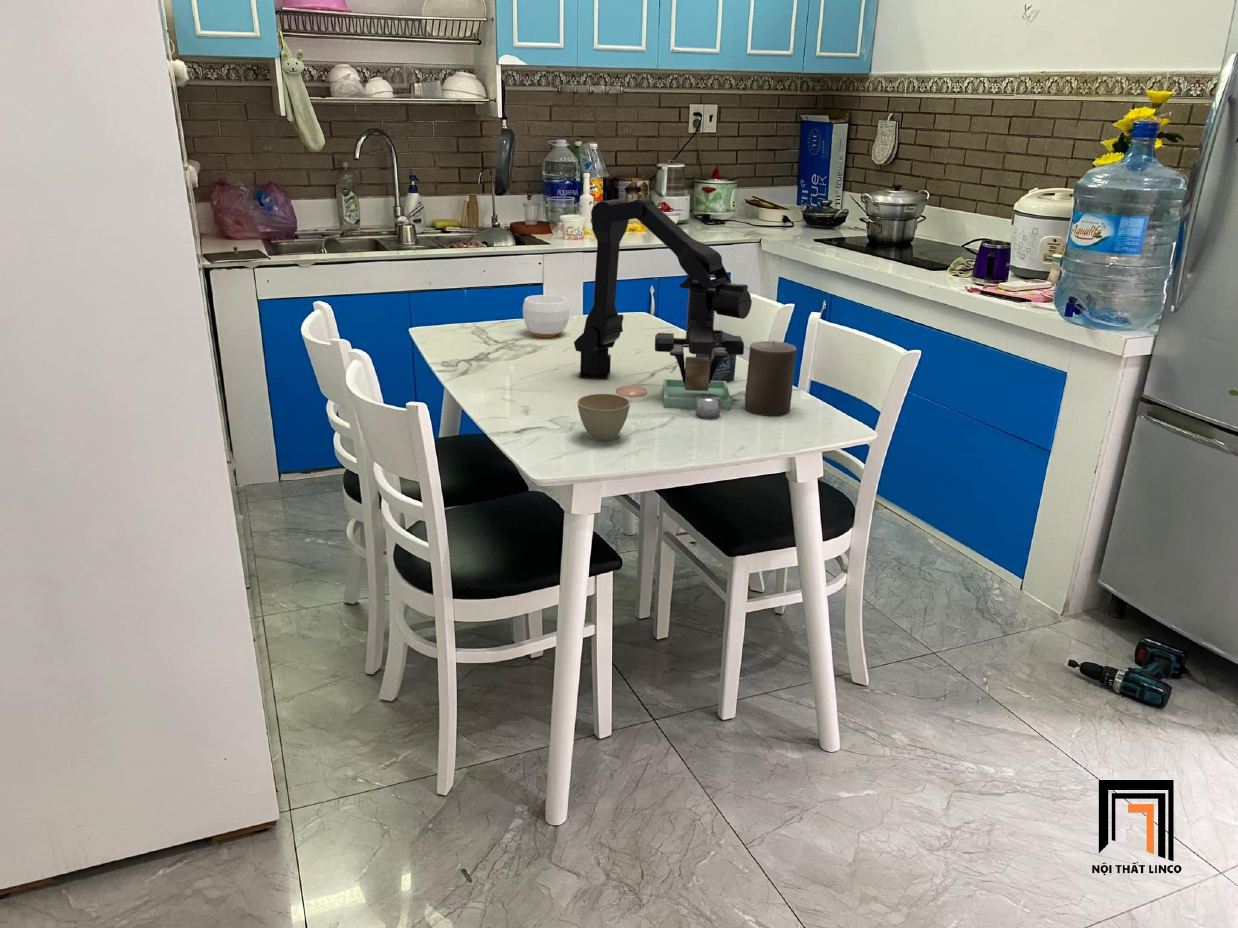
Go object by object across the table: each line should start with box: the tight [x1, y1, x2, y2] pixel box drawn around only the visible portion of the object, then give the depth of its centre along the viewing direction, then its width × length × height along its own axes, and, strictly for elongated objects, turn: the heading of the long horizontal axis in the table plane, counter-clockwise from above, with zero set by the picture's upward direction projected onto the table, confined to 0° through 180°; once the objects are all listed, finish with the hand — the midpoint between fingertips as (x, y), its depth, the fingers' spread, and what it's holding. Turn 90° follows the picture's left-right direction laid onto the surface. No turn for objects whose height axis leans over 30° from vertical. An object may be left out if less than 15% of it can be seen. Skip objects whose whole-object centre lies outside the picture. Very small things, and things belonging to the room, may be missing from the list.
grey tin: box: [695, 394, 721, 421], centre depth 193 cm, size 5×5×4 cm
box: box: [695, 331, 737, 382], centre depth 216 cm, size 8×6×11 cm
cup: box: [522, 294, 570, 338], centre depth 250 cm, size 12×12×10 cm
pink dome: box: [615, 385, 649, 398], centre depth 207 cm, size 7×7×1 cm
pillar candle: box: [744, 339, 797, 417], centre depth 196 cm, size 10×10×15 cm
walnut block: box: [684, 356, 710, 391], centre depth 202 cm, size 5×5×6 cm
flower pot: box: [576, 392, 631, 442], centre depth 179 cm, size 10×10×7 cm
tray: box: [662, 378, 732, 411], centre depth 204 cm, size 14×14×2 cm
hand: (696, 382), depth 203 cm, fingers closed on walnut block, 5 cm apart
